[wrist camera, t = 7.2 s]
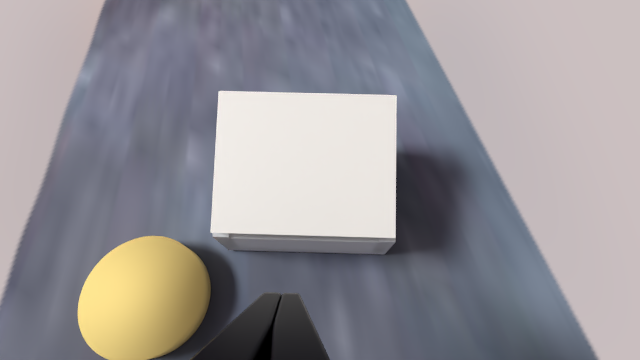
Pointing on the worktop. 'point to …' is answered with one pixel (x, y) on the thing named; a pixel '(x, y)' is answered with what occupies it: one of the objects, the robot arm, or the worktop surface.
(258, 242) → the grey frame
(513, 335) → the worktop surface
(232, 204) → the lid
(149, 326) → the yellow rounded disc
